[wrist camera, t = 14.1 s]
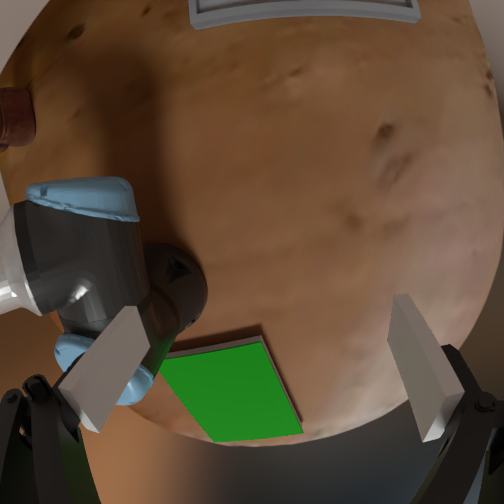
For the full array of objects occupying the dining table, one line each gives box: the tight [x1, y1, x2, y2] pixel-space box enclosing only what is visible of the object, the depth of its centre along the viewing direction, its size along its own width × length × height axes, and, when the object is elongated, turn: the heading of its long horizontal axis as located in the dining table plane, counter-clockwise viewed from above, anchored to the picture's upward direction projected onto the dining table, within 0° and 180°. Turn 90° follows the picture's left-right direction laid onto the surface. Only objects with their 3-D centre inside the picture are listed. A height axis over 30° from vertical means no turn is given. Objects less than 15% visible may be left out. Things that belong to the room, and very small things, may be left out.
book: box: [159, 335, 304, 442], centre depth 55 cm, size 22×28×3 cm
